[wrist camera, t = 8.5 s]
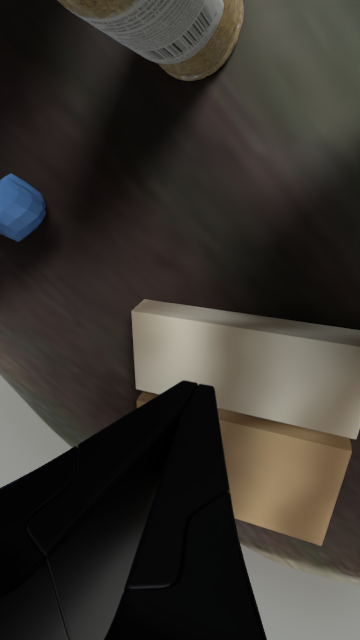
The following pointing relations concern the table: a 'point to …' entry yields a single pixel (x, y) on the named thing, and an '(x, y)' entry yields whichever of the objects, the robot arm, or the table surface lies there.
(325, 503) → the oak plank
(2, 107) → the table surface
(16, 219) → the grapes
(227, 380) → the ash board
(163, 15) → the sprinkles bottle
